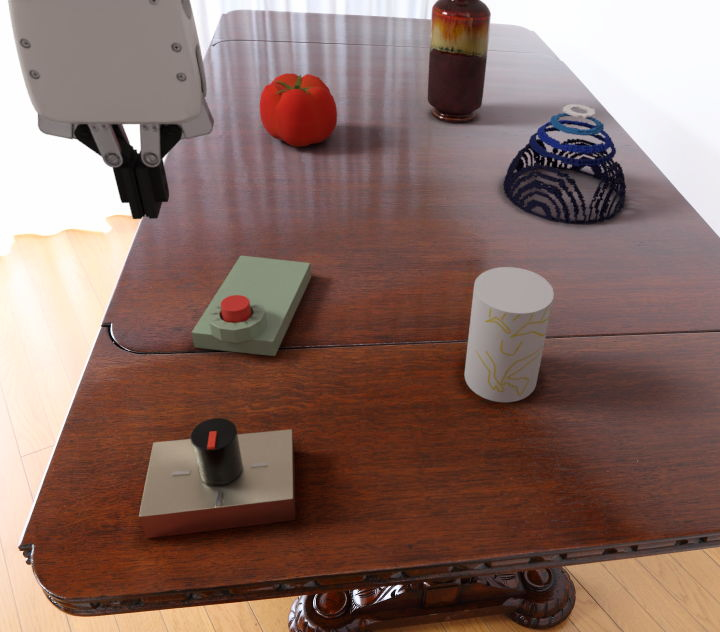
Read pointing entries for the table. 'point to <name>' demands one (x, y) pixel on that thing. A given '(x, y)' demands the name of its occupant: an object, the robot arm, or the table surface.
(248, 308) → the button
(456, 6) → the vase
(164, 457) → the panel
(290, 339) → the table surface
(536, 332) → the white patterned cylinder
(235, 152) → the table surface
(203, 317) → the switch box
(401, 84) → the table surface
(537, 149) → the decorative bowl
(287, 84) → the tomato
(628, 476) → the table surface
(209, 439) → the hob knob
